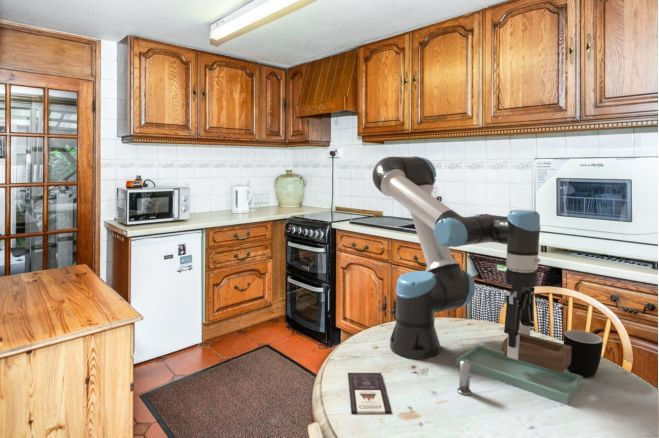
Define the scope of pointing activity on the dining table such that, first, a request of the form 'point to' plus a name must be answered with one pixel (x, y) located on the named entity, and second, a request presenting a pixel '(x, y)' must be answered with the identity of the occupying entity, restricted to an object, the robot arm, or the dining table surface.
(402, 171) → the robot arm
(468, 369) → the silver cylindrical piece
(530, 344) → the wooden rectangular frame
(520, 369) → the tray
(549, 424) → the dining table surface
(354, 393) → the chocolate bar
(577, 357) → the mug
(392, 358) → the dining table surface
